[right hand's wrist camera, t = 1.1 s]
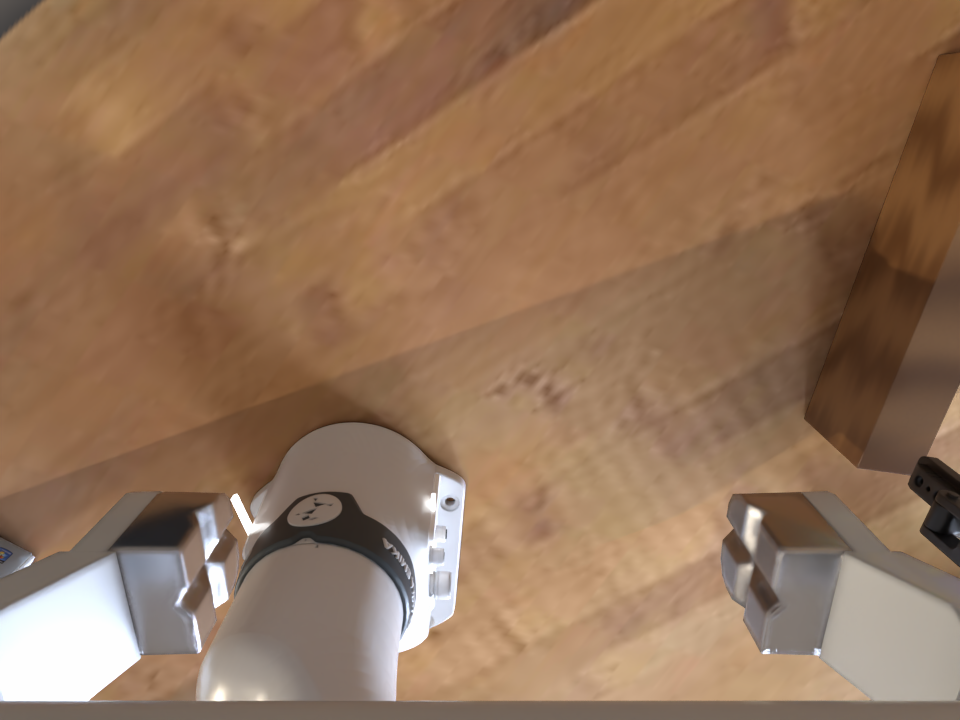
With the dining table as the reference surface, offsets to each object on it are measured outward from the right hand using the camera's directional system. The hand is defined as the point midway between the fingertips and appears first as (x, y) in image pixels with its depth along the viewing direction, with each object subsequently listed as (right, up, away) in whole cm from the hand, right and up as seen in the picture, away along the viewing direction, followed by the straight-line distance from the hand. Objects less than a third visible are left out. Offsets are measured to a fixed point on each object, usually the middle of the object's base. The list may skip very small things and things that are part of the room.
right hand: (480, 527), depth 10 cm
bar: (+32, +10, +38) cm, 51 cm away
